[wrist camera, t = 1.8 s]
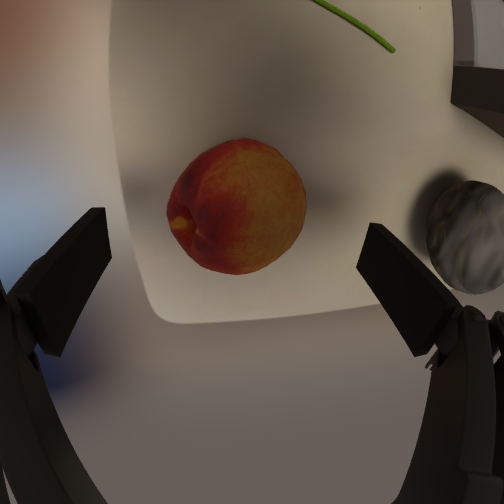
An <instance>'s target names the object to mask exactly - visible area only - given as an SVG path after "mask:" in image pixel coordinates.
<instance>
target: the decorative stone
mask: <svg viewBox="0 0 504 504" xmlns="http://www.w3.org/2000/svg"><path fill="white" fill-rule="evenodd" d="M426 243H427V248H428V253H429V257H430V260H431V263H432V265H433V267H434V269H435V270H436V271H437V273H438V274H439V275H440V277H441V278H442V279H443V280H444V282H445V283H447V284H448V285H449V286H450V287H452V288H454V289H455V290H459V291H461V292H464V293H467V294H474V295H475V294H483V293H486V292H489V291H492V290H494V289H495V288H497V287H498V286H500V285H501V284H503V283H504V194H503V193H502V192H501V191H500V190H498V189H497V188H495V187H494V186H492V185H489V184H487V183H483V182H479V181H465V182H462V183H459V184H456V185H453V186H452V187H450V188H449V189H448V190H447V191H445V192H444V193H443V194H442V195H441V196H440V197H439V198H438V200H437V201H436V202H435V204H434V206H433V208H432V210H431V212H430V215H429V219H428V223H427V233H426Z"/></svg>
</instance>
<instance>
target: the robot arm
mask: <svg viewBox="0 0 504 504" xmlns="http://www.w3.org/2000/svg"><path fill="white" fill-rule="evenodd" d="M105 212H106V211H105V208H104V207H103V208H101V207H100V208H91V209H89V210H88V211H87V212H86V213H85V214H84V215H83V216H82V217H81V218H80V219H79V220H78V221H77V222H76V223H75V224H74V225H73V226H72V227H71V228H70V229H69V230H68V231H67V232H66V233H65V234H64V235H63V236H62V237H61V238H60V239H59V240H58V241H57V242H56V243H55V244H54V245H53V246H52V247H51V248H50V249H49V250H48V252H47V253H46V254H45V255H43V256H42V257H40V258H39V259H37V260H36V261H34V262H33V263H32V265H31V266H30V267H29V268H28V270H27V271H26V272H25V273H24V274H23V275H22V277H21V278H20V279H19V280H18V281H17V282H16V284H15V285H14V286H13V287H12V289H11V290H10V291H9V292H8V294H7V295H6V293H5V290H4V288H3V285H2V283H1V280H0V504H10V500H9V496H8V492H7V488H6V484H5V479H4V475H3V470H4V472H5V475H6V478H7V480H8V483H9V485H10V488H11V490H12V492H13V494H14V497H15V499H16V501H17V503H18V504H107V502H106V500H105V499H104V498H103V496H102V495H101V493H100V492H99V491H98V489H97V487H96V486H95V484H94V483H93V481H92V480H91V478H90V477H89V475H88V473H87V471H86V470H85V468H84V466H83V465H82V463H81V461H80V459H79V458H78V456H77V454H76V452H75V450H74V448H73V446H72V444H71V442H70V440H69V438H68V436H67V434H66V432H65V430H64V428H63V425H62V423H61V421H60V419H59V417H58V414H57V412H56V409H55V407H54V404H53V402H52V399H51V397H50V394H49V391H48V388H47V385H46V382H45V379H44V376H43V373H42V370H41V367H40V363H39V360H38V357H37V354H36V353H35V351H34V348H35V346H36V344H37V342H38V344H39V346H40V347H41V349H42V351H43V353H44V354H48V355H52V356H56V357H60V356H61V354H62V352H63V349H64V347H65V345H66V343H67V341H68V338H69V336H70V334H71V332H72V330H73V328H74V326H75V324H76V322H77V320H78V318H79V316H80V314H81V312H82V310H83V308H84V306H85V304H86V302H87V300H88V299H89V297H90V295H91V293H92V291H93V289H94V288H95V286H96V284H97V282H98V280H99V279H100V277H101V275H102V273H103V272H104V270H105V268H106V267H107V265H108V263H109V262H110V260H111V258H112V256H111V249H110V243H109V236H108V229H107V220H106V213H105ZM356 268H357V270H358V271H359V273H360V274H361V275H362V277H363V278H364V280H365V281H366V282H367V284H368V285H369V287H370V288H371V290H372V291H373V293H374V294H375V296H376V297H377V299H378V300H379V301H380V303H381V304H382V306H383V308H384V309H385V310H386V312H387V313H388V315H389V317H390V318H391V319H392V321H393V323H394V324H395V326H396V328H397V329H398V331H399V332H400V334H401V336H402V337H403V339H404V340H405V342H406V344H407V345H408V347H409V348H410V350H411V352H412V354H413V355H414V357H417V356H421V355H425V354H427V353H428V352H429V350H430V349H431V348H432V346H433V345H434V343H435V345H436V346H437V348H438V349H437V350H436V352H435V353H434V355H433V356H432V357H431V359H430V360H429V362H428V363H427V364H426V366H425V368H428V366H429V365H430V364H433V366H432V367H431V368H430V370H431V371H432V372H431V380H430V386H429V392H428V397H427V402H426V407H425V412H424V416H423V421H422V425H421V429H420V433H419V436H418V440H417V444H416V447H415V451H414V454H413V457H412V460H411V463H410V466H409V469H408V472H407V475H406V477H405V480H404V483H403V485H402V488H401V490H400V493H399V495H398V497H397V498H396V499H395V500H394V502H392V503H391V504H504V312H500V311H497V312H495V314H494V315H493V317H492V319H491V320H487V319H486V318H485V316H484V315H483V313H482V312H481V311H480V310H478V309H477V308H475V307H473V306H470V305H467V306H465V307H462V305H461V304H460V303H459V301H458V300H457V299H456V298H455V296H454V295H453V294H452V293H451V292H450V291H449V290H448V289H447V288H446V286H445V285H444V284H443V283H442V282H441V281H440V280H439V279H438V278H437V277H436V276H435V275H434V274H433V273H432V272H431V271H430V270H429V269H428V268H427V267H426V266H425V264H424V263H423V262H422V261H421V260H420V259H419V258H417V257H416V256H415V255H414V254H413V253H412V252H411V251H410V250H409V249H408V248H407V247H406V246H405V245H404V244H403V243H402V242H401V241H400V240H399V239H398V238H397V237H395V236H394V235H393V234H392V233H391V232H390V231H389V230H388V229H387V228H386V227H384V226H383V225H382V224H378V223H370V224H369V227H368V231H367V234H366V238H365V241H364V244H363V247H362V251H361V254H360V257H359V260H358V263H357V266H356ZM499 350H500V353H501V356H500V357H499V359H498V360H497V361H496V362H495V364H493V358H494V356H495V355H496V354H497V352H498V351H499ZM2 467H3V469H2Z"/></svg>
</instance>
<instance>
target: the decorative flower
mask: <svg viewBox="0 0 504 504" xmlns="http://www.w3.org/2000/svg"><path fill="white" fill-rule="evenodd" d="M314 1H316V2H318V3H319V4H321V5H323V6H324V7H326V8H328V9H330V10H331V11H333V12H335V13H337V14H339V15H340V16H342V17H344V18H345V19H347V20H349V21H350V22H352V23H354V24H355V25H357V26H358V27H360V28H362V29H363V30H364V31H366V32H367V33H369V34H370V35H371V36H373V37H374V38H375V39H376V40H378V41H379V42H380V43H381V44H383V45H384V46H385V47H386V48H387V49H388V50H390V51H391V52H392V53H394V52H395V51H396V49H395V48H393V47H392V46H391V45H390V44H389V43H387V42H386V41H385V40H384V39H383V38H382V37H380V36H379V35H378V34H377V33H375V32H374V31H373V30H371V29H370V28H369V27H367V26H366V25H364V24H363V23H361V22H360V21H358V20H356V19H355V18H353V17H351V16H350V15H348V14H346V13H345V12H343V11H341V10H340V9H338V8H336V7H334V6H332V5H331V4H329V3H327V2H326V1H324V0H314Z"/></svg>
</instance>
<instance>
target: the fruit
mask: <svg viewBox="0 0 504 504" xmlns="http://www.w3.org/2000/svg"><path fill="white" fill-rule="evenodd" d="M305 214H306V192H305V189H304V186H303V183H302V180H301V179H300V177H299V175H298V173H297V172H296V170H295V168H294V167H293V166H292V165H291V164H290V162H288V161H287V160H286V159H285V158H284V157H283V156H282V155H281V154H280V153H279V152H278V151H277V150H276V149H275V148H273V147H271V146H269V145H266V144H264V143H261V142H259V141H256V140H251V139H247V138H245V139H237V140H232V141H228V142H225V143H223V144H221V145H219V146H217V147H215V148H212V149H210V150H208V151H206V152H205V153H203V154H201V155H200V156H198V157H197V158H196V159H195V160H194V161H192V162H191V163H190V164H189V166H188V167H187V168H186V170H185V171H184V172H183V173H182V174H181V176H180V177H179V179H178V180H177V182H176V184H175V186H174V187H173V190H172V192H171V195H170V198H169V201H168V205H167V218H168V222H169V225H170V229H171V232H172V234H173V235H174V237H175V238H176V240H177V241H178V242H179V244H180V245H181V247H182V248H183V249H184V251H185V252H186V253H187V254H188V256H190V257H191V258H192V259H193V260H194V261H195V262H196V263H198V264H199V265H200V266H202V267H204V268H206V269H209V270H212V271H216V272H221V273H225V274H233V275H241V274H247V273H251V272H255V271H258V270H260V269H262V268H264V267H266V266H267V265H269V264H270V263H272V262H273V261H275V260H276V259H278V258H279V257H280V256H281V255H282V254H284V253H285V252H286V251H287V250H288V249H289V248H291V246H292V245H293V243H294V242H295V240H296V239H297V237H298V235H299V234H300V232H301V230H302V227H303V223H304V219H305Z"/></svg>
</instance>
